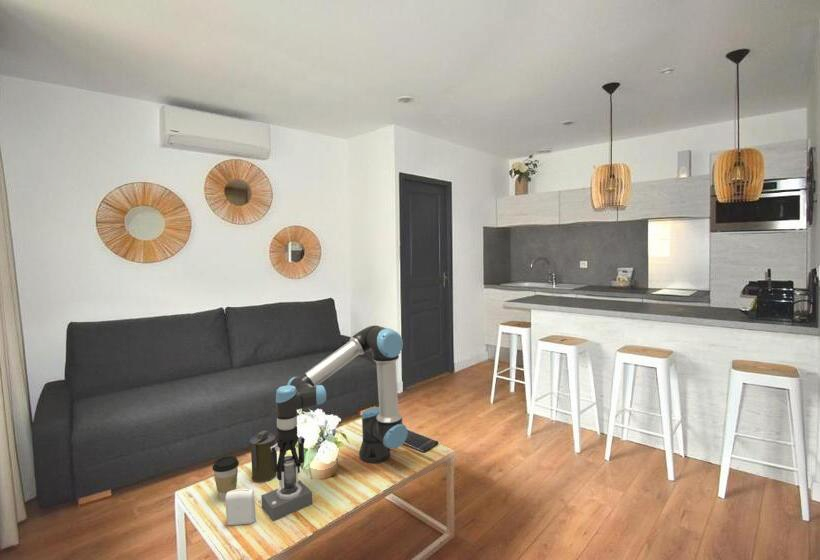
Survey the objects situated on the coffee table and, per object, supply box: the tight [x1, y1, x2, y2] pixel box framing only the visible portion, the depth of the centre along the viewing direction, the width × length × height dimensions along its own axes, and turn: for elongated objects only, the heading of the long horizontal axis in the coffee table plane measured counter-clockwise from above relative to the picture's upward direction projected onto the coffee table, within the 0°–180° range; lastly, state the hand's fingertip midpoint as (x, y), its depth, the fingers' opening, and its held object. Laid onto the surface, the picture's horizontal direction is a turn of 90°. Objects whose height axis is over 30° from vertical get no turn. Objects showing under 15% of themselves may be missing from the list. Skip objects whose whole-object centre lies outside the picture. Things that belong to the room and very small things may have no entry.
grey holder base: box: [260, 479, 313, 522], centre depth 164 cm, size 16×11×6 cm
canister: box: [249, 429, 277, 484], centre depth 185 cm, size 11×10×20 cm
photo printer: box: [224, 488, 257, 526], centre depth 155 cm, size 10×4×12 cm, turn 96°
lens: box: [282, 455, 296, 490], centre depth 164 cm, size 5×5×11 cm
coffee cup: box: [212, 455, 240, 502], centre depth 170 cm, size 10×10×15 cm
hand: (288, 484), depth 164 cm, fingers closed on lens, 5 cm apart
